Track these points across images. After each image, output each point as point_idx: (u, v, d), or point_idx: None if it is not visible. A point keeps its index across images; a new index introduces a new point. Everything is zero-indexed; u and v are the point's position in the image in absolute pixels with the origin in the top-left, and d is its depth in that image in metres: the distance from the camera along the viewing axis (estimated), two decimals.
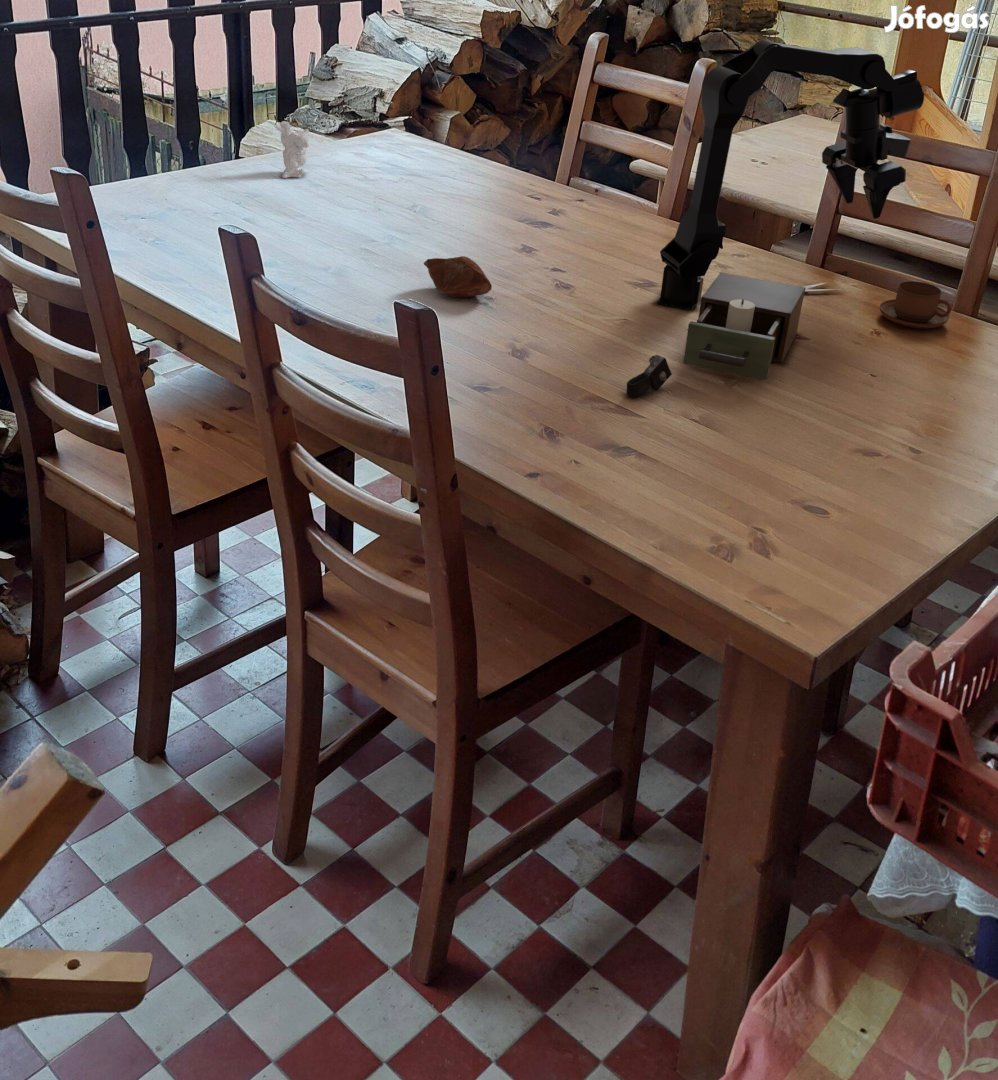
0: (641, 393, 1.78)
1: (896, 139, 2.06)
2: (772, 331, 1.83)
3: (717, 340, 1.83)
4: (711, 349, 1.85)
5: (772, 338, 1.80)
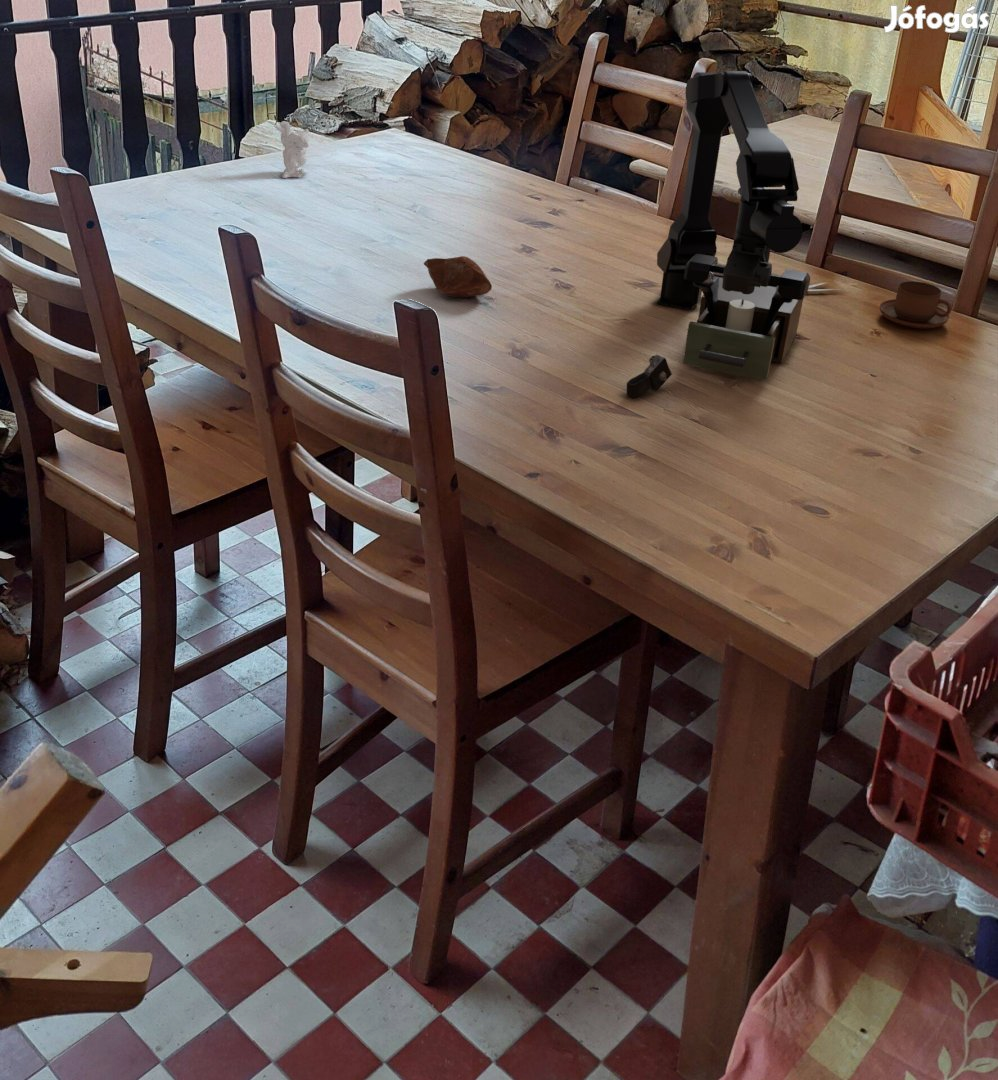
0: (641, 393, 1.78)
1: (728, 260, 1.78)
2: (772, 331, 1.83)
3: (717, 340, 1.83)
4: (711, 349, 1.85)
5: (772, 338, 1.80)
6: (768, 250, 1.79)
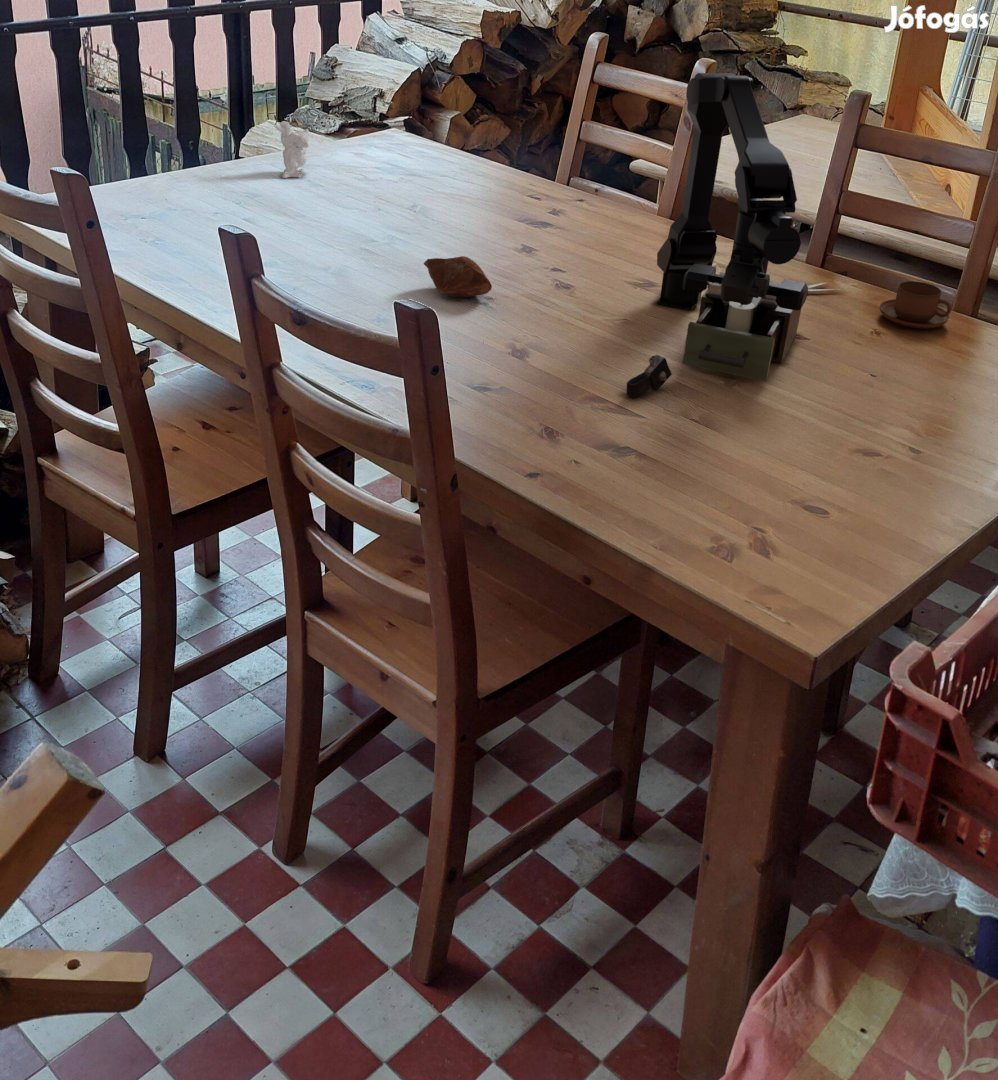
0: (641, 393, 1.78)
1: (726, 270, 1.79)
2: (772, 332, 1.83)
3: (717, 341, 1.83)
4: (711, 350, 1.84)
5: (772, 339, 1.80)
6: (766, 261, 1.80)
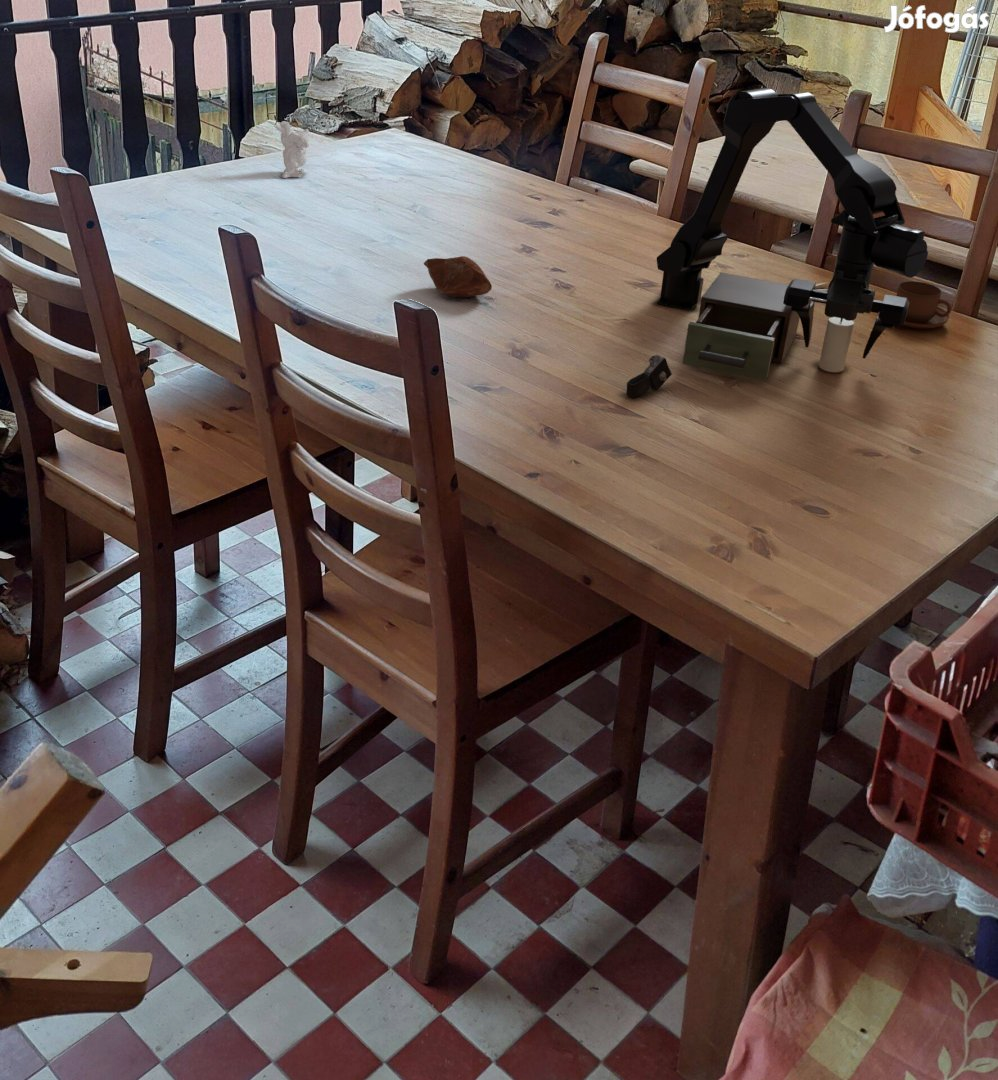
0: (641, 393, 1.78)
1: (830, 286, 1.81)
2: (772, 332, 1.83)
3: (717, 341, 1.83)
4: (711, 350, 1.84)
5: (772, 339, 1.80)
6: (869, 276, 1.82)
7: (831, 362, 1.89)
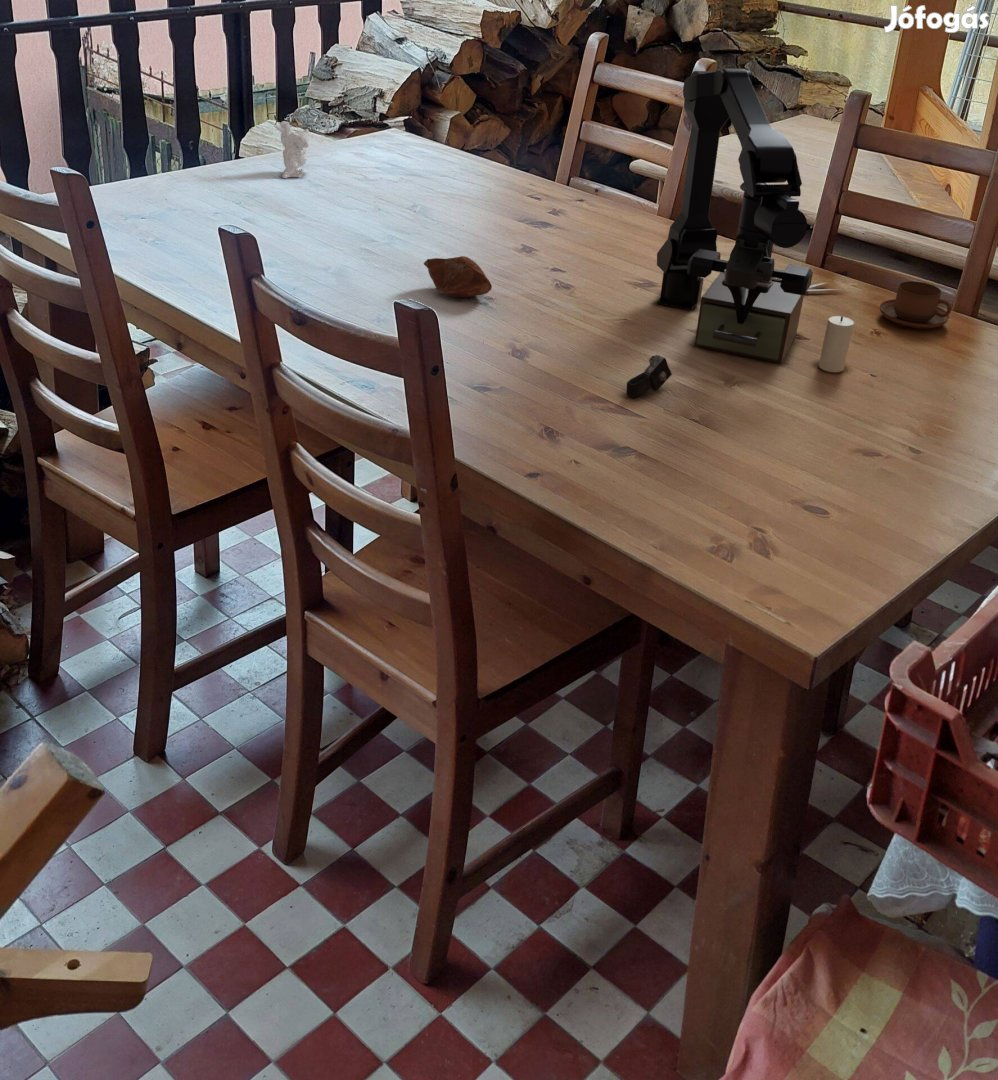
0: (641, 393, 1.78)
1: (731, 255, 1.79)
2: None
3: (730, 321, 1.91)
4: (724, 330, 1.92)
5: (783, 319, 1.88)
6: (771, 245, 1.80)
7: (831, 362, 1.89)
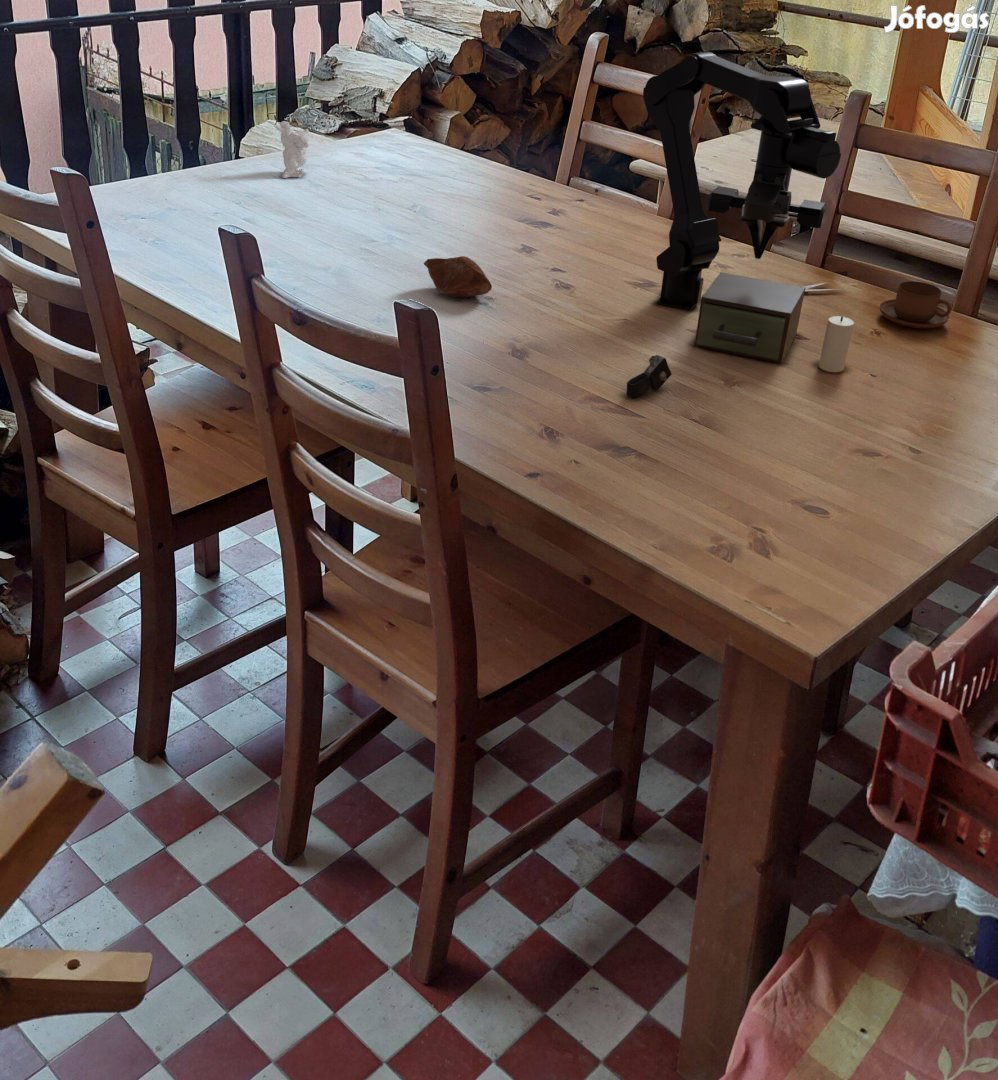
0: (641, 393, 1.78)
1: None
2: None
3: (730, 321, 1.91)
4: (724, 330, 1.92)
5: (783, 319, 1.88)
6: (787, 180, 1.87)
7: (831, 362, 1.89)
